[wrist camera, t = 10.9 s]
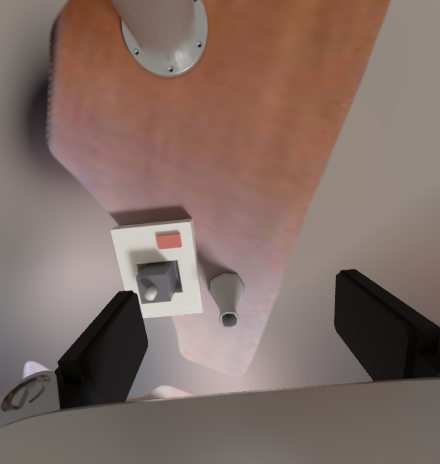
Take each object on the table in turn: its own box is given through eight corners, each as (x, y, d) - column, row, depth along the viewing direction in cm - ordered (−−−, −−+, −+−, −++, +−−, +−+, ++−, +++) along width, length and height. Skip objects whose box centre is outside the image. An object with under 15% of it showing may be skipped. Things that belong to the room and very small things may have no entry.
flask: (241, 268, 42) (247, 295, 33) (247, 300, 44) (255, 335, 34) (205, 275, 43) (201, 304, 33) (213, 306, 44) (211, 343, 35)
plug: (147, 262, 41) (130, 283, 33) (173, 260, 41) (162, 280, 33) (152, 286, 42) (137, 311, 34) (177, 283, 42) (168, 308, 34)
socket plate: (118, 226, 40) (108, 230, 36) (192, 218, 40) (189, 222, 36) (137, 309, 45) (130, 321, 41) (204, 303, 44) (202, 314, 41)
